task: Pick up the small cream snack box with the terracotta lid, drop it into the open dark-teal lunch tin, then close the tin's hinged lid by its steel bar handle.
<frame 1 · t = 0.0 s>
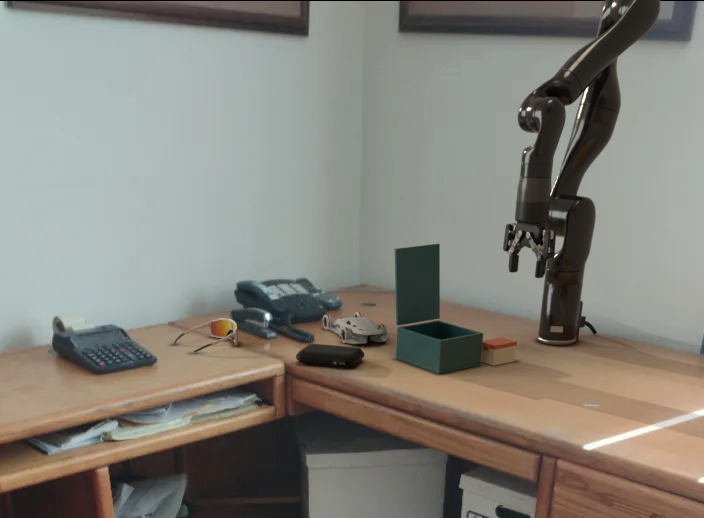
hand: (525, 274, 219), 17 cm above the table, tool pointing down, fingers open, 8 cm apart
carrying case: (329, 363, 217), on the table
sunglasses: (208, 345, 232), on the table
tin lid: (411, 284, 217), point 16 cm above the table, hinge at 95.0°
lunch tin: (438, 362, 218), on the table
snack box: (496, 361, 219), on the table
car model: (356, 336, 239), on the table
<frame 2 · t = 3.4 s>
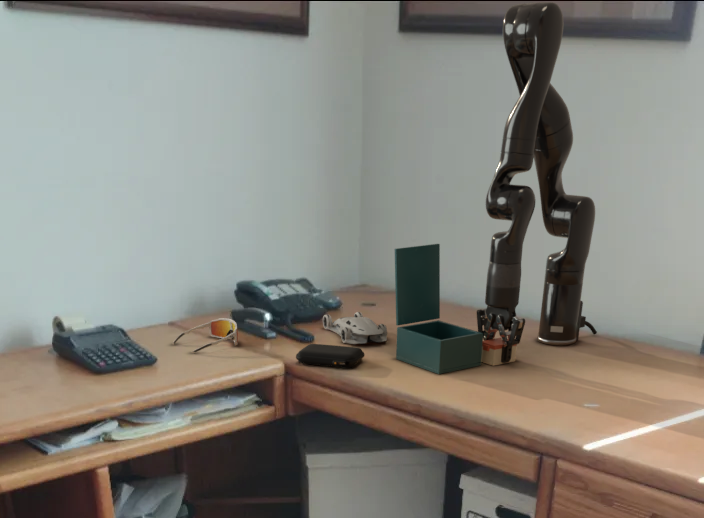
hand: (496, 359, 219), 0 cm above the table, tool pointing down, fingers closed on snack box, 5 cm apart
snack box: (496, 361, 219), on the table, touching gripper
everything else where it was.
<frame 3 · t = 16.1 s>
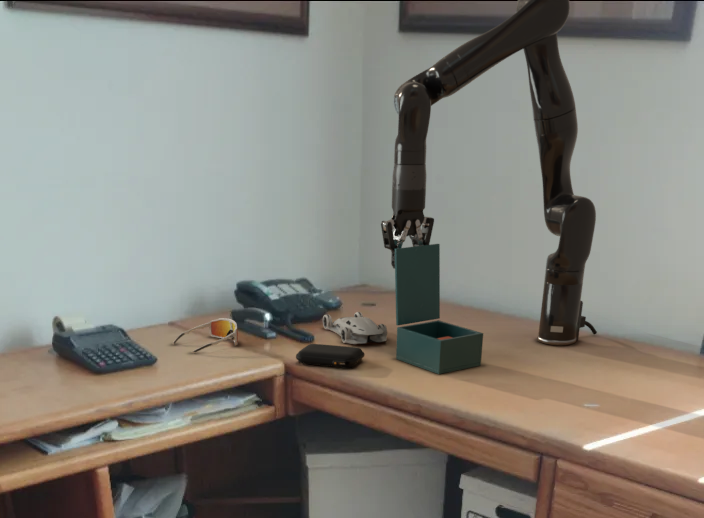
hand: (406, 267, 217), 19 cm above the table, tool pointing down, fingers closed on tin lid, 5 cm apart
tin lid: (411, 284, 217), point 16 cm above the table, hinge at 95.0°, touching gripper
snack box: (442, 360, 216), point 1 cm above the table, touching lunch tin
everything else where it was.
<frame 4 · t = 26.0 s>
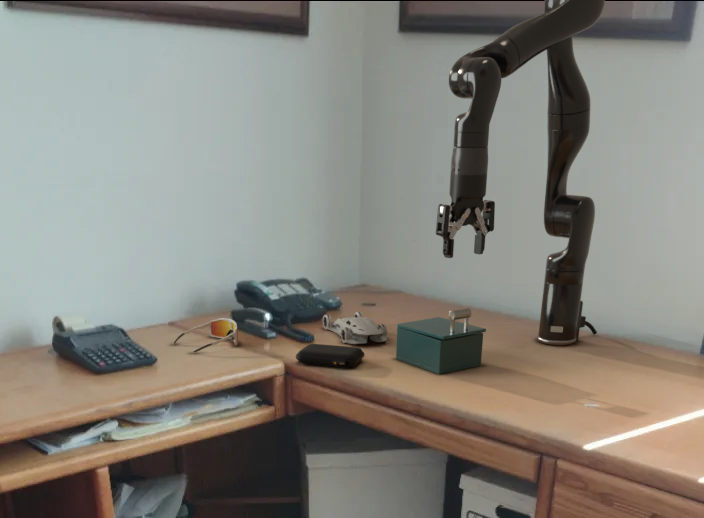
hand: (463, 255, 201), 24 cm above the table, tool pointing down, fingers open, 8 cm apart
tin lid: (441, 317, 212), point 10 cm above the table, hinge at 1.3°
everything else where it was.
at the end: snack box inside the target area in the lunch tin (1.6 cm from its centre), point 0.8 cm above the lunch tin's base; tin lid at +1° (first picture: +95°) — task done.
